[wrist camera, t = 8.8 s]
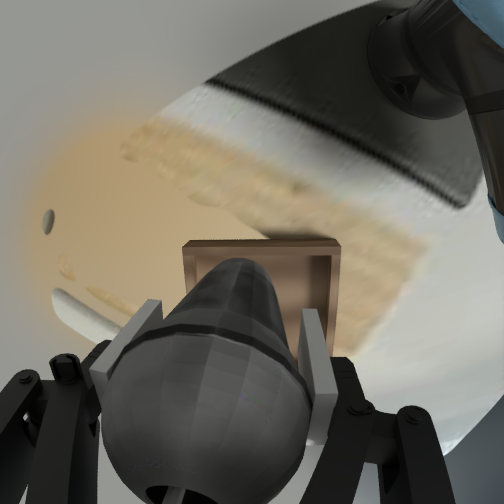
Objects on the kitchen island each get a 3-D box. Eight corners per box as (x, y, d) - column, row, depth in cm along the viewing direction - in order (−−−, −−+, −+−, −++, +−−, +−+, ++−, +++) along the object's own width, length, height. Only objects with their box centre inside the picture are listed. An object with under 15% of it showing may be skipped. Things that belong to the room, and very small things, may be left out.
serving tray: (190, 240, 40) (182, 247, 37) (335, 239, 38) (341, 246, 35) (202, 360, 45) (197, 374, 41) (327, 362, 43) (329, 377, 40)
